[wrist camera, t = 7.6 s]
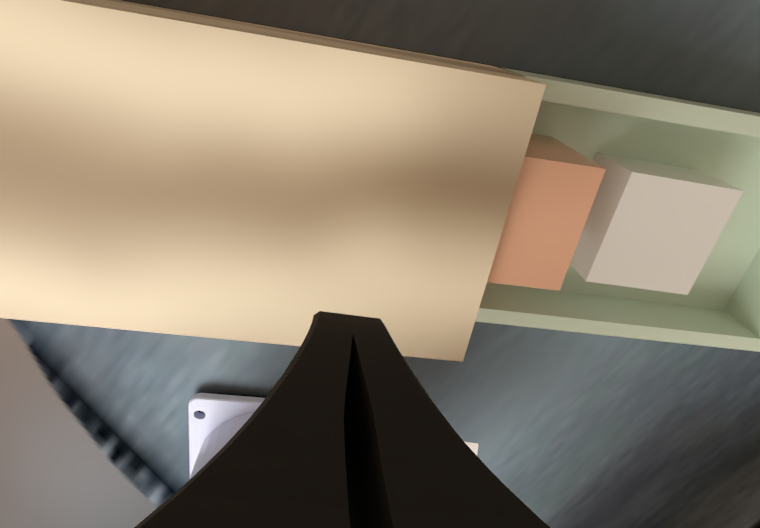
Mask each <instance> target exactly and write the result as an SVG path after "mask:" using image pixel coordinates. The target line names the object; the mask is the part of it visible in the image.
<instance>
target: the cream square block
mask: <svg viewBox="0 0 760 528" xmlns="http://www.w3.org/2000/svg"><path fill="white" fill-rule="evenodd" d="M593 161H594V162H595V163H597V164H599V165H600V166H602V167H604V168H605V169H606V170H605V173H604V176H603V178H602V181H601V183H600V186H599V189H598V191H597V194H596V197H595V199H594V202H593V204H592V207H591V210H590V212H589V215H588V218H587V220H586V223H585V225H584V228H583V231H582V233H581V236H580V239H579V241H578V244H577V246H576V249H575V252H574V254H573V257H572V260H571V262H570V264H571V265H572V266H573V267H574V269H575V270H576V271H577V272H578V273H579V274H580V275H581V276H582V277H583V279H584V280H585V281H588V282H595V283H603V284H610V285H617V286H625V287H632V288H640V289H647V290H654V291H662V292H669V293H676V294H684V295H688V293H689V292H690V290H691V288H692V286H693V284H694V282H695V280H696V279H697V277H698V275H699V273H700V271H701V269H702V267H703V266H704V264H705V262H706V260H707V258H708V256H709V255H710V253H711V251H712V249H713V247H714V245H715V243H716V242H717V240H718V238H719V236H720V234H721V232H722V230H723V229H724V227H725V225H726V223H727V221H728V219H729V217H730V216H731V214H732V212H733V210H734V208H735V206H736V204H737V203H738V201H739V199H740V197H741V195H742V193H743V190H740V189H738V188H736V187H734V186H731V185H729V184H727V183H725V182H722V181H720V180H718V179H716V178H713V177H711V176H709V175H707V174H704V173H702V172H700V171H698V170H695V169H690V168H685V167H679V166H673V165H667V164H662V163H656V162H650V161H645V160H639V159H633V158H627V157H622V156H616V155H610V154H604V153H599V152H596V153H595V156H594V158H593Z"/></svg>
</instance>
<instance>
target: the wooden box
mask: <svg viewBox="0 0 760 528" xmlns="http://www.w3.org/2000/svg"><path fill="white" fill-rule="evenodd" d="M545 87H546V84H543V83H540V82H537V81H534V80H532V79H529V78H526V77H523V76H520V75H517V74H514V73H512V72H509V71H506V70H503V69H500V68H497V67H494V66H491V65H485V64H480V63H474V62H468V61H463V60H457V59H451V58H446V57H440V56H434V55H429V54H423V53H417V52H412V51H406V50H400V49H395V48H389V47H383V46H378V45H372V44H366V43H360V42H355V41H349V40H343V39H338V38H332V37H326V36H321V35H315V34H309V33H304V32H298V31H292V30H287V29H281V28H275V27H270V26H264V25H258V24H253V23H247V22H241V21H236V20H230V19H224V18H219V17H213V16H207V15H202V14H196V13H190V12H185V11H179V10H173V9H168V8H162V7H156V6H151V5H145V4H139V3H134V2H128V1H122V0H0V318H8V319H18V320H29V321H39V322H50V323H60V324H71V325H81V326H92V327H103V328H113V329H124V330H134V331H145V332H155V333H166V334H176V335H187V336H197V337H208V338H218V339H229V340H240V341H250V342H261V343H271V344H282V345H292V346H301V345H302V343H303V341H304V339H305V337H306V335H307V333H308V331H309V329H310V326H311V323H312V320H313V315H315V314H316V313H318V312H319V311H323V312H331V313H339V314H347V315H355V316H363V317H371V318H379V319H381V320H382V322H383V323H384V325H385V326H386V328H387V330H388V332H389V334H390V336H391V337H392V339H393V341H394V343H395V344H396V346H397V348H398V349H399V351H400V353H401V354H402V356H408V357H419V358H429V359H440V360H450V361H461V362H463V360H464V357H465V353H466V350H467V347H468V343H469V340H470V337H471V333H472V330H473V327H474V323H475V320H476V317H477V314H478V310H479V307H480V304H481V300H482V297H483V294H484V290H485V287H486V284H487V280H488V277H489V274H490V270H491V267H492V264H493V260H494V257H495V254H496V250H497V247H498V244H499V240H500V237H501V234H502V230H503V227H504V224H505V220H506V217H507V214H508V210H509V207H510V204H511V200H512V197H513V194H514V190H515V187H516V184H517V180H518V177H519V174H520V170H521V167H522V164H523V161H524V157H525V154H526V151H527V147H528V144H529V141H530V137H531V134H532V131H533V127H534V124H535V121H536V117H537V114H538V111H539V107H540V104H541V101H542V97H543V94H544V91H545Z"/></svg>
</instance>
